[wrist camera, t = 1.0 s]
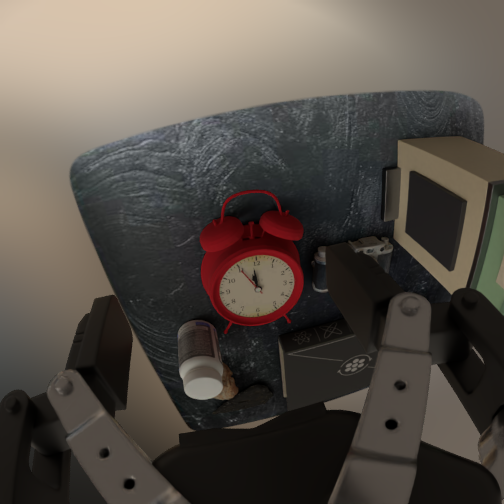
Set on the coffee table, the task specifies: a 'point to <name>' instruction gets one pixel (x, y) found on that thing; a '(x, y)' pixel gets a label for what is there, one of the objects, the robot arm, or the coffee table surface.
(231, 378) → the tan elongated rock
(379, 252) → the camera
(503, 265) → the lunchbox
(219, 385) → the pill bottle
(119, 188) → the coffee table surface
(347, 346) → the book
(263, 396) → the arrowhead
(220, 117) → the coffee table surface
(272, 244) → the alarm clock
